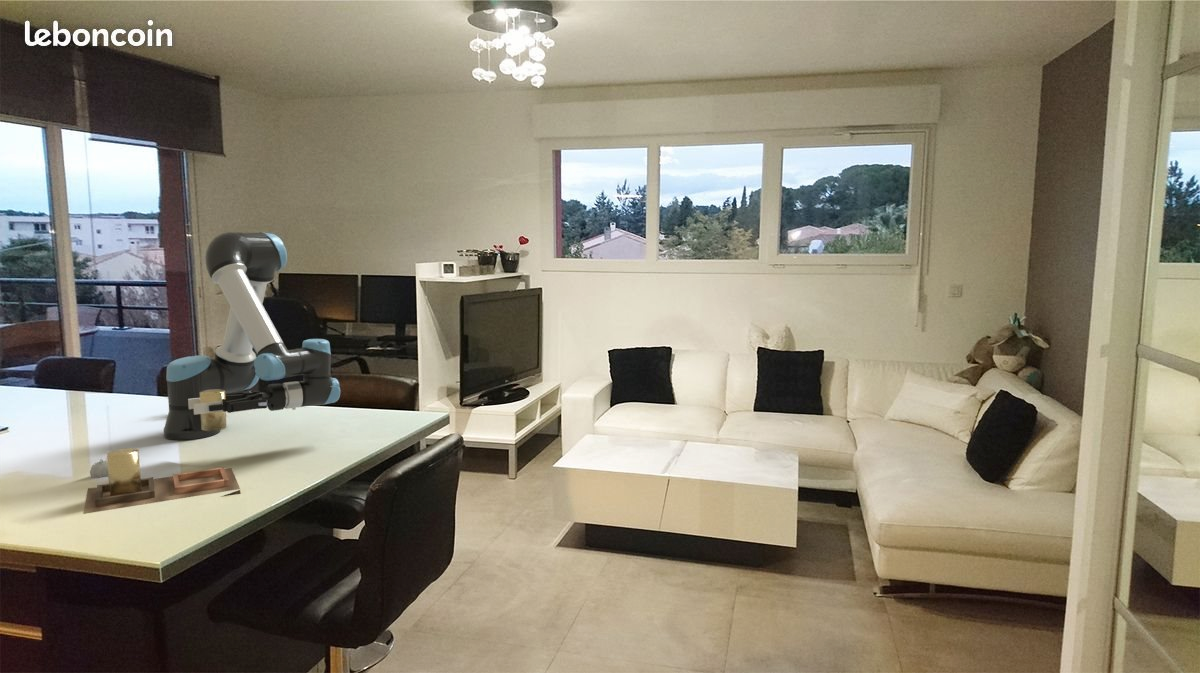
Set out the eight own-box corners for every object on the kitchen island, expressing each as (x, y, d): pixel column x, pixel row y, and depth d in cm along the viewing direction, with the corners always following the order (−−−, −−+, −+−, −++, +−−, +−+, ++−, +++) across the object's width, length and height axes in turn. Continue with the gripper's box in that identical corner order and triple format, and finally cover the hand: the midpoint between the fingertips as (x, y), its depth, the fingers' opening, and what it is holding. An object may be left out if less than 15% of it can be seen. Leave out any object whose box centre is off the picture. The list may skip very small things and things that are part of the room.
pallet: (83, 519, 150) (82, 506, 150) (88, 493, 165) (87, 482, 165) (240, 493, 167) (239, 482, 166) (231, 472, 182) (231, 462, 181)
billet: (104, 496, 160) (100, 453, 159) (131, 488, 166) (128, 447, 164) (120, 500, 158) (117, 457, 156) (147, 492, 163) (144, 450, 162)
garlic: (103, 483, 172) (101, 463, 171) (84, 482, 173) (82, 461, 172) (123, 475, 178) (122, 455, 177) (105, 474, 179) (103, 454, 178)
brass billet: (196, 428, 189) (194, 392, 188) (216, 423, 195) (214, 388, 193) (211, 432, 187) (209, 395, 185) (231, 426, 192) (230, 391, 191)
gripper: (294, 416, 195) (199, 428, 180) (273, 402, 209) (184, 412, 194) (293, 389, 194) (198, 399, 179) (272, 377, 208) (183, 386, 193)
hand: (191, 406), depth 187 cm, fingers closed on brass billet, 6 cm apart
